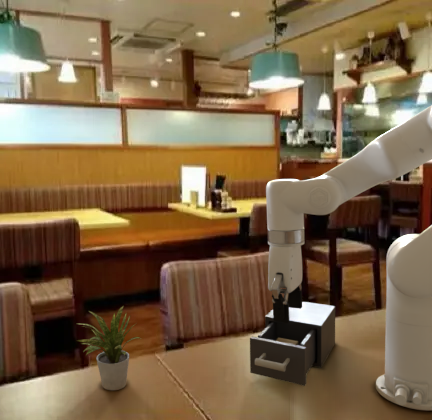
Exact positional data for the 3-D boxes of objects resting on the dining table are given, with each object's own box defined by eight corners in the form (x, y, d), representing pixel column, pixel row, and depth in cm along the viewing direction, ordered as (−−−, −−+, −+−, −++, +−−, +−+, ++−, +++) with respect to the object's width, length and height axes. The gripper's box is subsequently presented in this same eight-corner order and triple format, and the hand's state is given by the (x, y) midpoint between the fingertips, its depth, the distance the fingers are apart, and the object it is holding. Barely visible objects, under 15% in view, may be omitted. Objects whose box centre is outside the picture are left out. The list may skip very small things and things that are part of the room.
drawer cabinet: (321, 368, 99) (321, 325, 98) (265, 355, 106) (265, 316, 105) (335, 343, 111) (335, 306, 110) (284, 334, 118) (284, 298, 117)
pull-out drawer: (298, 397, 86) (298, 358, 85) (241, 382, 92) (241, 346, 91) (320, 359, 101) (320, 326, 100) (270, 349, 107) (270, 317, 106)
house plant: (92, 365, 105) (88, 298, 103) (149, 367, 103) (146, 298, 101) (72, 397, 91) (67, 320, 89) (138, 400, 89) (134, 321, 87)
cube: (292, 368, 95) (292, 348, 94) (272, 364, 97) (271, 344, 97) (298, 360, 99) (298, 341, 98) (278, 356, 101) (278, 337, 100)
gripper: (280, 230, 104) (283, 300, 106) (254, 243, 90) (257, 325, 92) (313, 231, 100) (315, 304, 102) (291, 245, 86) (294, 330, 87)
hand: (288, 314), depth 97 cm, fingers open, 9 cm apart
